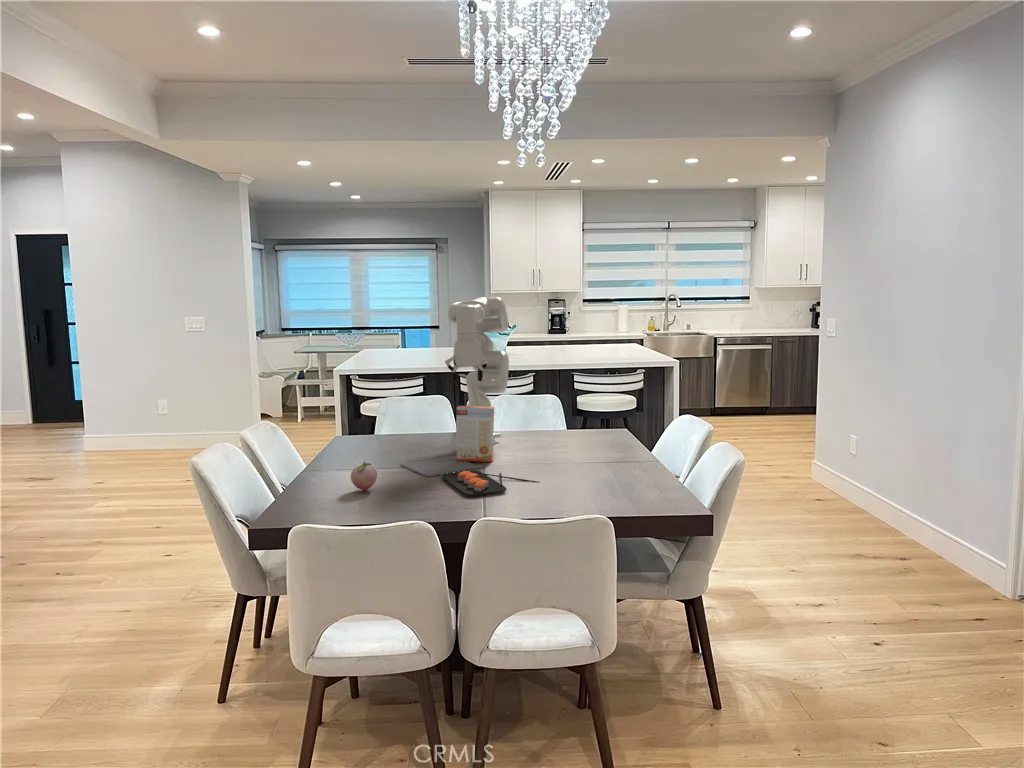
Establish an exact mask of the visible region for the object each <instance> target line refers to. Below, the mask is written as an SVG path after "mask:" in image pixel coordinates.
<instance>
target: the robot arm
mask: <svg viewBox="0 0 1024 768" xmlns="http://www.w3.org/2000/svg"><path fill="white" fill-rule="evenodd" d="M447 317H448V318H447V319H448V321H449V322H450V323H452V324H455V325H456V340H454V344H453V356H451V357H450V358H448V359H446V360H445V361H444V363H445V366H447V368H448V369H449V370H450V371H451V372H452V373H451V375H452V376H451V377H452V381H453V383H455V384H456V383H458V372H457V370H458V369H459V368H469V367H471V368H472V369H473V371H470V372H469V373H468V374H467V375H466V379H465V380H466V381H465V382H466V389H467V395H468V406H484V407H492V403H491V400H490V399H489V397H488V396H487V395H486V394H502V393H504V392H506V390H507V388H508V380H509V368H510V367H509V366H510V359H509V355H508V353H507V352H506V351H504V350H494V341H492V340H491V338H490V337H489V336H488V335H487V334H485V333H505V332H506V331H507V330H508V328H509V318H508V317H509V316H508V314H507V307H506V304H505V302H504V300H503V299H502V298H501V297H498V296H483V297H482V296H480V297H476V298H474V299H472V300H465V301H459V302H454V303H452V304H451V305H450V306H449V307H448V311H447ZM451 362H453V363H452V365H453V366H452V365H451ZM496 438H498V439H499V438H502V433H501V432H497V433H495V432H494V442H493V446H494V445H495V444H496V440H495V439H496Z"/></svg>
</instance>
